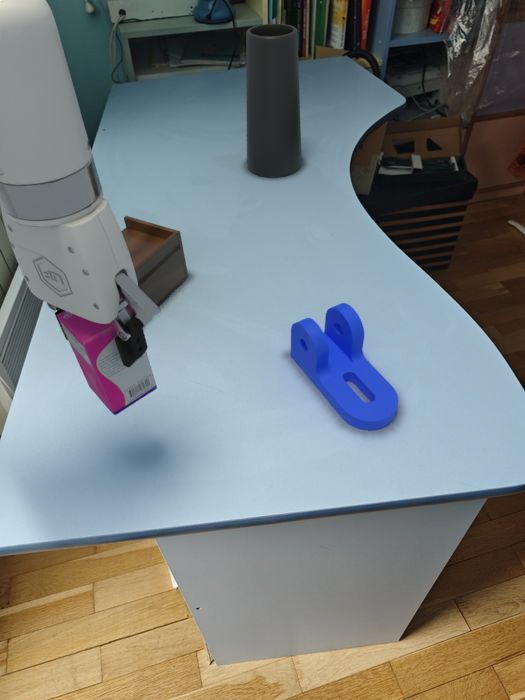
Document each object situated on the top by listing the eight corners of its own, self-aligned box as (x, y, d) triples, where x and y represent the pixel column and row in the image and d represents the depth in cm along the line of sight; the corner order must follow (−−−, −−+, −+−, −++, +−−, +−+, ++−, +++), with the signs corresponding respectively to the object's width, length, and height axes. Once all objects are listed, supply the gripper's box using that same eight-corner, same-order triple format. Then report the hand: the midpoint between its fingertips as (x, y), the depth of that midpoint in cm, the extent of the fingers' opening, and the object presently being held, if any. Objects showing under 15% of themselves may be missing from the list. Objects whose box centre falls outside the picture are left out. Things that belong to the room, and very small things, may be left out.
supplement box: (130, 360, 58) (107, 286, 50) (158, 388, 55) (138, 315, 47) (87, 386, 56) (54, 312, 47) (113, 417, 53) (84, 344, 44)
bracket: (290, 355, 77) (291, 313, 70) (334, 336, 79) (338, 294, 73) (360, 439, 66) (368, 399, 59) (407, 413, 68) (420, 372, 62)
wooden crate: (82, 309, 86) (63, 263, 79) (138, 260, 96) (126, 215, 88) (135, 330, 82) (120, 283, 75) (188, 276, 92) (180, 231, 84)
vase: (262, 148, 128) (258, 18, 107) (310, 158, 123) (315, 24, 102) (237, 171, 120) (226, 35, 99) (286, 182, 115) (286, 42, 94)
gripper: (-66, 181, 38) (20, 339, 51) (101, 238, 32) (151, 401, 45) (9, 144, 43) (71, 298, 56) (169, 188, 37) (196, 350, 50)
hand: (106, 343), depth 50 cm, fingers closed on supplement box, 7 cm apart
